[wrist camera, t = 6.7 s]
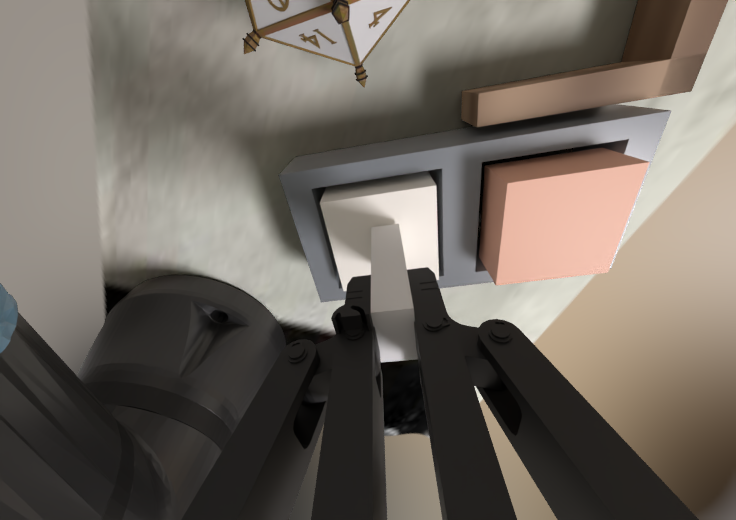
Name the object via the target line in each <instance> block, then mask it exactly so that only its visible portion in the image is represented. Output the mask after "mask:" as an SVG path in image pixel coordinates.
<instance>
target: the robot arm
mask: <svg viewBox="0 0 736 520" xmlns="http://www.w3.org/2000/svg"><path fill="white" fill-rule="evenodd" d="M331 319H332V322H333V325H334V328H335V331H336V335H335V336H334V337H332V338H331V339H329V340H327V341H324V342H322V343H319V344H316V345H315V344H314V343H313V342H312V341H309V340H306V339H304V340H297V341H294V342H292V343H290V344H289V345H288V346H286V341H285V336H284V333H283V331H282V329H281V327H280V325H279V323H278V322H277V320H276V319H275V318H274V316H273V315H272V314H271V313H270V312H269V311H268V310H267V309H266V308H265V307H264V306H263V305H262V304H260V303H259V302H258V301H256V300H255V299H254V298H252V297H251V296H249V295H247V294H246V293H244V292H242V291H240V290H238V289H236V288H234V287H232V286H229V285H227V284H224V283H221V282H218V281H215V280H211V279H207V278H202V277H197V276H188V275H169V276H162V277H157V278H153V279H150V280H147V281H145V282H143V283H141V284H139V285H138V286H136V287H135V288H134V289H132V290H131V291H130V292H129V293H128V294H127V295H126V296H125V297H124V298H122V299H121V300H120V301H119V302H118V303H117V304H116V305H115V306H114V307H113V308H112V310H111V311H110V312H109V314H108V315H107V317H106V319H105V323H104V326H103V327H102V329H101V331H100V333H99V334H98V336H97V338H96V340H95V341H94V343H93V345H92V347H91V349H90V351H89V353H88V355H87V357H86V358H85V360H84V362H83V364H82V366H81V368H80V370H79V372H78V374H77V376H76V375H75V373H74V372H73V371H72V370H71V369H70V368H69V367H68V366H67V365H66V364H65V363H64V361H62V360H61V358H60V357H59V356H58V355H57V354H56V353H55V352H54V351H53V350H52V348H51V347H49V346H48V344H47V343H46V342H45V341H44V340H43V339H42V338H41V336H40V335H39V334H38V333H37V332H36V331H35V330H34V329H33V328H32V327H31V326H30V325H29V323H27V322H26V320H25V319H24V318H23V317H22V316H21V315H20V314H19V313H18V308H17V303H16V301H15V299H14V298H13V297H12V296H11V295H10V294H8V292H7V291H6V290H5V288H4V287H3V286H2V284H1V283H0V520H289V518H290V515H291V512H292V510H293V507H294V504H295V501H296V499H297V496H298V493H299V490H300V487H301V485H302V482H303V479H304V476H305V474H306V471H307V468H308V465H309V463H310V460H311V457H312V454H313V452H314V449H315V446H316V443H317V441H318V438H319V435H320V432H321V430H322V427H323V424H324V430H323V437H322V444H321V452H320V459H319V466H318V473H317V480H316V488H315V495H314V502H313V509H312V517H311V520H387V503H386V475H385V445H384V415H383V386H382V372H381V368H380V360H381V362H391V361H402V360H413V359H418V361H419V371H420V381H421V384H422V391H423V397H424V403H425V410H426V416H427V423H428V429H429V436H430V442H431V448H432V455H433V461H434V467H435V474H436V481H437V486H438V493H439V499H440V506H441V512H442V519H443V520H517V518H516V515H515V512H514V509H513V506H512V502H511V499H510V496H509V493H508V490H507V487H506V484H505V481H504V478H503V475H502V471H501V468H500V465H499V462H498V459H497V456H496V453H495V450H494V447H493V444H492V441H491V438H490V434H489V431H488V428H487V426H486V422H485V419H484V416H483V413H482V410H481V407H480V404H479V400H478V397H477V394H476V391H475V388H474V386H476V387H477V389H478V391H479V392H480V394H481V395H482V397H483V399H484V400H485V402H486V404H487V405H488V407H489V408H490V410H491V412H492V413H493V415H494V417H495V418H496V420H497V422H498V423H499V425H500V426H501V428H502V430H503V431H504V433H505V435H506V436H507V438H508V439H509V441H510V443H511V444H512V446H513V447H514V449H515V451H516V452H517V454H518V456H519V457H520V459H521V461H522V462H523V464H524V466H525V467H526V469H527V470H528V472H529V474H530V475H531V477H532V479H533V480H534V482H535V483H536V485H537V487H538V488H539V490H540V492H541V493H542V495H543V496H544V498H545V500H546V501H547V503H548V505H549V506H550V508H551V510H552V511H553V513H554V514H555V516H556V518H557V519H558V520H699V519H698V518H697V517H696V516H695V515H694V514H693V513H692V512H691V511H690V510H689V509H688V508H687V507H686V506H685V504H684V503H682V501H681V500H680V499H679V498H678V497H677V496H676V495H675V494H674V493H673V492H672V491H671V490H670V489H669V487H668V486H667V485H666V484H665V483H664V482H663V481H662V480H661V479H660V478H659V477H658V476H657V475H656V474H655V473H654V472H653V471H652V469H651V468H650V467H649V466H648V465H647V464H646V463H645V462H644V461H643V460H642V459H641V458H640V457H639V456H638V455H637V454H636V452H635V451H634V450H633V449H632V448H631V447H630V446H629V445H628V444H627V443H626V442H625V441H624V440H623V439H622V438H621V437H620V436H619V435H618V433H616V431H615V430H614V429H613V428H612V427H611V426H610V425H609V424H608V423H607V422H606V421H605V420H604V419H603V417H602V416H601V415H600V414H599V413H598V412H597V411H596V410H595V409H594V408H593V407H592V406H591V405H590V404H589V403H588V402H587V401H586V400H585V398H584V397H583V396H582V395H581V394H580V393H579V392H578V391H577V390H576V389H575V388H574V387H573V386H572V385H571V384H570V383H569V381H568V380H567V379H566V378H565V377H564V376H563V375H562V374H561V373H560V372H559V371H558V370H557V369H556V368H555V367H554V366H553V365H552V363H551V362H550V361H549V360H548V359H547V358H546V357H545V356H544V355H543V354H542V353H541V352H540V351H539V350H538V349H537V348H536V347H535V345H534V344H533V343H532V342H531V341H530V340H529V339H528V338H527V337H526V336H525V335H524V334H523V333H522V332H521V331H520V329H519V328H517V327H516V326H515V325H513V324H512V323H510V322H507V321H505V320H498V319H493V320H488V321H486V322H484V323H482V324H481V325H480V327H479V328H477V327H471V326H466V325H461V324H459V323H457V322H455V321H454V320H452V319H451V318H450V317H449V316H448V314H447V312H446V308H445V305H444V302H443V299H442V296H441V292H440V289H439V286H438V283H437V280H436V276H435V273H434V272H433V271H431V270H430V269H429V268H428V267H425V268H417V269H408V270H407V268H406V262H405V256H404V250H403V245H402V239H401V233H400V228H399V224H392V225H385V226H377V227H371V275H365V276H357V277H352V278H351V280H350V281H349V283H348V284H347V291H346V300H345V305H343V306H341V307H340V308H338V309H337V310H336V311H335V312H334V313H333V315H332V318H331ZM324 421H325V422H324Z"/></svg>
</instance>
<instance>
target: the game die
mask: <svg viewBox="0 0 736 520" xmlns="http://www.w3.org/2000/svg"><path fill="white" fill-rule="evenodd" d="M409 1H410V0H245V3H246V6H247V9H248V13H249V16H250V19H251V23H252V26H253V31H252V32H251V33H249V34H248V33H247V37H246V38H245V39H244V38H243V40H244V54H246V53H249V52H252V51H256V50H255V49H256V47H257V46H259V44H258V43H259V40H260V38H265V39H268V40H271V41H274V42H278V43H281V44H284V45H287V46H291V47H294V48H297V49H300V50H303V51H307V52H310V53H313V54H316V55H320V56H323V57H326V58H329V59H333V60H336V61H339V62H342V63H346V64H349V65H352V66H355V68H356V73H355V75H356V77H357V79H356V81H358V82H359V83H360V84H361V85H362V86H363V87H365V82H366V78H367V77H368V76H367V75H366V73H365V72H366V70H364V68H363V66H362V63H363V62H364V61H365V59H366V58H367V57H368V56H369V54H370V53H371V52H372V50H373V49H374V48H375V46H376V45H377V44H378V42H379V41H380V40H381V38H382V37H383V36H384V34H385V33H386V32H387V30H388V29H389V28H390V26H391V25H392V24H393V22H394V21H395V20H396V19H397V17H398V16H399V15H400V13H401V12H402V11H403V9H404V8H405V7H406V5H407V4H408V3H409Z"/></svg>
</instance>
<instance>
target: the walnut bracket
mask: <svg viewBox="0 0 736 520" xmlns="http://www.w3.org/2000/svg"><path fill="white" fill-rule="evenodd" d="M727 2H728V0H638V2H637V6H636V10H635V13H634V17H633V21H632V24H631V28H630V32H629V35H628V39H627V43H626V46H625V50H624V54H623V57H622V61H621V62H619V63H613V64H608V65H602V66H597V67H591V68H586V69H580V70H575V71H569V72H564V73H558V74H553V75H547V76H542V77H536V78H531V79H525V80H520V81H514V82H509V83H503V84H498V85H492V86H487V87H481V88H476V89H470V90H465V91H462V110H461V120H463V121H465V122H467V123H469V124H471V125H473V126H475V127H482V126H488V125H494V124H500V123H506V122H512V121H518V120H524V119H530V118H536V117H542V116H548V115H554V114H559V113H565V112H571V111H577V110H583V109H589V108H595V107H601V106H607V105H613V104H619V103H625V102H631V101H637V100H643V99H649V98H654V97H660V96H666V95H672V94H678V93H684V92H690V91H692V88H693V86H694V83H695V81H696V79H697V76H698V74H699V71H700V69H701V66H702V64H703V61H704V59H705V56H706V54H707V51H708V49H709V46H710V44H711V41H712V39H713V37H714V34H715V32H716V29H717V27H718V24H719V22H720V19H721V17H722V14H723V12H724V9H725V7H726V4H727Z"/></svg>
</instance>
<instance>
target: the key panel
mask: <svg viewBox="0 0 736 520" xmlns="http://www.w3.org/2000/svg"><path fill="white" fill-rule="evenodd" d="M670 113H671V111H670V110H661V109H652V108H644V107H635V106H626V105H618V104H613V105H607V106H601V107H595V108H589V109H583V110H577V111H571V112H565V113H559V114H554V115H548V116H542V117H536V118H530V119H524V120H518V121H512V122H506V123H500V124H494V125H488V126H482V127H475V126H474V127H468V128H462V129H457V130H451V131H445V132H439V133H433V134H427V135H421V136H415V137H409V138H403V139H397V140H391V141H385V142H380V143H374V144H368V145H362V146H356V147H350V148H344V149H338V150H332V151H326V152H320V153H314V154H309V155H303V156H297V157H295V158H294V159H293V160H292V161H291V162H290V163H289V164H288V165H287V166H286V167H285V169H284V170H283V171H282V172H281V173H280V174H279V178H280V181H281V184H282V187H283V190H284V193H285V196H286V199H287V202H288V205H289V208H290V211H291V214H292V217H293V220H294V223H295V226H296V229H297V232H298V235H299V238H300V241H301V244H302V247H303V250H304V253H305V256H306V259H307V262H308V265H309V268H310V271H311V273H312V276H313V279H314V282H315V285H316V288H317V291H318V294H319V297H320V300H321V302H327V301H336V300H344V299H346V291H343V288H342V284H341V280H340V276H339V273H338V269H337V265H336V262H335V258H334V254H333V250H332V247H331V243H330V239H329V235H328V232H327V228H326V224H325V221H324V217H323V213H322V209H321V206H320V201H321V199H322V196H323V194H324V191H325V189H326V187H327V186H333V185H339V184H346V183H352V182H359V181H365V180H371V179H378V178H384V177H390V176H397V175H403V174H410V173H416V172H422V171H429V170H430V176H431V177H432V179H433V181H434V182H435V184H436V190H437V226H438V263H439V280H437V283H438V286H439V288H447V287H455V286H464V285H472V284H481V283H489V282H494V281H493V280H492V278H491V276H490V275H489V273H488V271H487V270H486V268H485V266H484V265H483V263H482V261H481V260H480V258H479V250H480V239H477V234H478V218H479V201H480V184H481V168H482V162H486V161H492V160H499V159H505V158H512V157H518V156H524V155H531V154H537V153H543V152H550V151H556V150H563V149H569V148H573V152H576V151H583V150H589V149H596V148H606V149H609V150H612V151H615V152H619V153H622V154H625V155H628V156H632V157H635V158H638V159H641V160H645V161H648V162H650V163H649V165H648V168H647V171H646V173H645V176H644V179H643V181H642V184H641V187H640V189H639V192H638V194H637V197H636V200H635V202H634V205H633V208H632V210H631V213H630V215H629V218H628V221H627V223H626V226H625V229H624V231H623V234H622V237H621V239H620V242H619V244H618V247H617V250H616V252H615V255H614V258H613V260H612V263H611V266H610V268H611V267H612V264H613V262H614V259H615V257H616V254H617V251H618V249H619V246H620V244H621V241H622V238H623V236H624V233H625V231H626V228H627V225H628V223H629V220H630V218H631V215H632V212H633V210H634V207H635V204H636V202H637V199H638V197H639V194H640V191H641V189H642V186H643V184H644V181H645V178H646V176H647V173H648V171H649V168H650V165H651V163H652V160H653V158H654V155H655V152H656V150H657V147H658V145H659V142H660V139H661V137H662V134H663V131H664V129H665V126H666V124H667V121H668V118H669V116H670Z"/></svg>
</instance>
